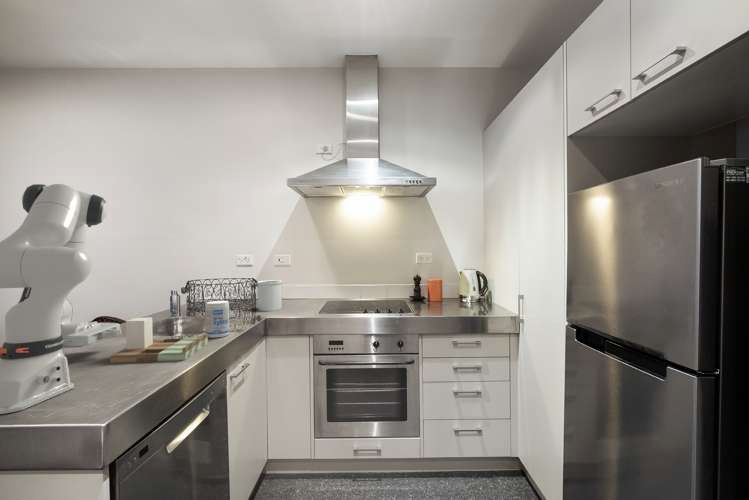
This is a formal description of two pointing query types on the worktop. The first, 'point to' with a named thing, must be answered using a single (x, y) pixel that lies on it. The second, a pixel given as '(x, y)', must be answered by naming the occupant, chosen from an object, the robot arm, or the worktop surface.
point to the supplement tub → (217, 318)
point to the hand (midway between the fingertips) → (119, 333)
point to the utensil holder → (269, 295)
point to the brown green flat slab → (162, 350)
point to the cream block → (139, 333)
